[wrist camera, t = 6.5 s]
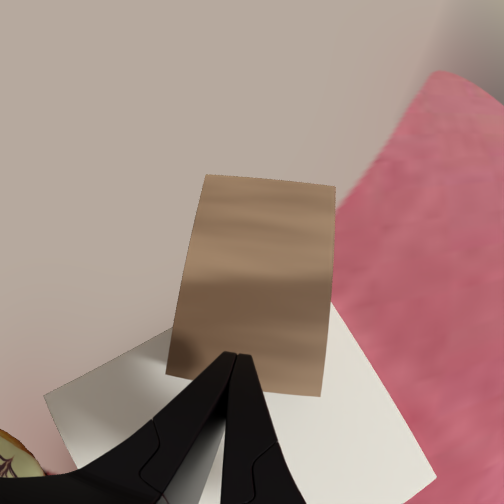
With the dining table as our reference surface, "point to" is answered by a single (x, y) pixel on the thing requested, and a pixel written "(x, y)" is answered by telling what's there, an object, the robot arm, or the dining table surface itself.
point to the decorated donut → (17, 459)
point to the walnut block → (258, 282)
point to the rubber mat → (283, 417)
